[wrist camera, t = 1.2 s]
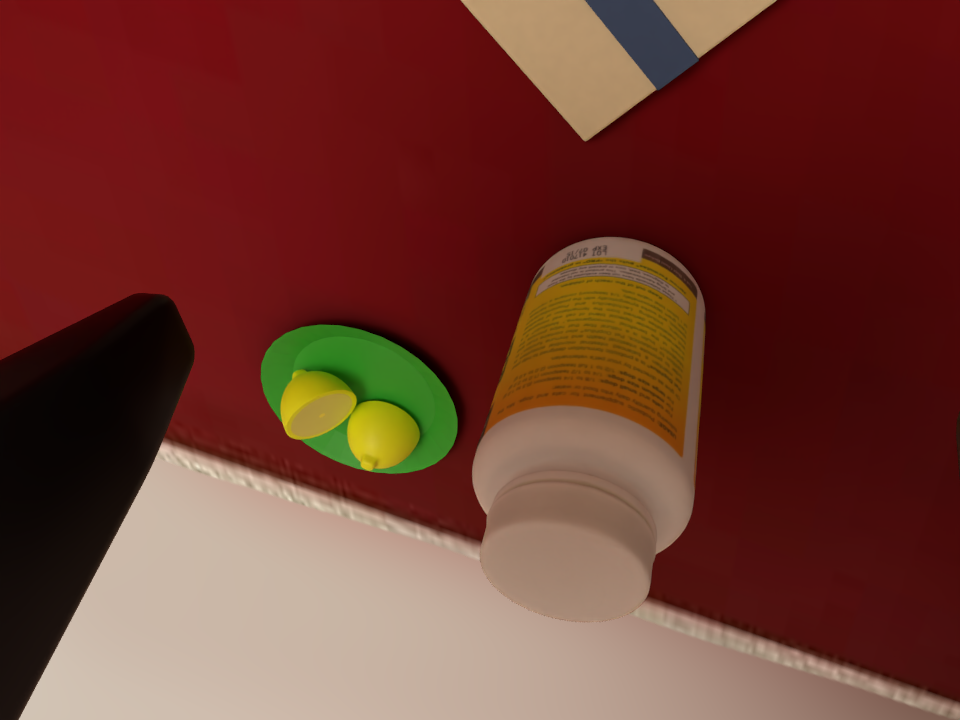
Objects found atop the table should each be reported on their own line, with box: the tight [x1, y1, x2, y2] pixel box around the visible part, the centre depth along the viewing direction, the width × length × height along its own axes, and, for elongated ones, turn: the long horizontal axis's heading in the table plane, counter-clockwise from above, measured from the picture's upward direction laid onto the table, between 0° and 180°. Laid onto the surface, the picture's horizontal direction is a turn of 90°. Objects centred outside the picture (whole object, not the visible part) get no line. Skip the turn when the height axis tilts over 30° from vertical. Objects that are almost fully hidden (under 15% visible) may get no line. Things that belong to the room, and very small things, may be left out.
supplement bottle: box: [472, 237, 706, 622], centre depth 22 cm, size 6×6×10 cm
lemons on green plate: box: [261, 325, 458, 474], centre depth 31 cm, size 8×8×3 cm
